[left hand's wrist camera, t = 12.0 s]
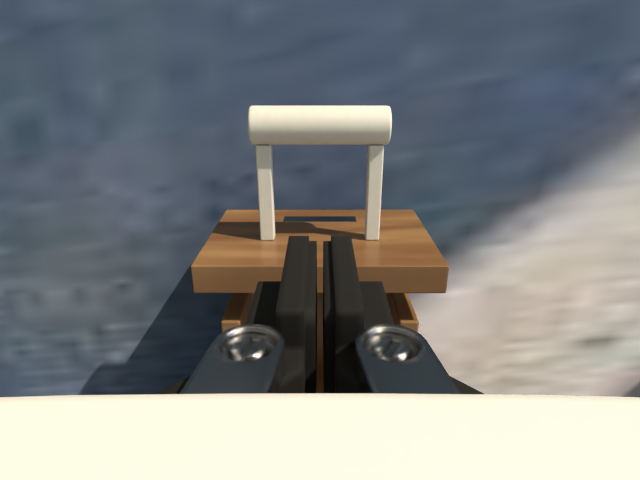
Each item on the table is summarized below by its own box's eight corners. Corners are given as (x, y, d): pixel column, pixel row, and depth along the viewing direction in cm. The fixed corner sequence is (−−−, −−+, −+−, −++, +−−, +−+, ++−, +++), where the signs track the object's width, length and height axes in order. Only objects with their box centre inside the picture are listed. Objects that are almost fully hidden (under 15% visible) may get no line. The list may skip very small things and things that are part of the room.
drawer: (217, 98, 22) (171, 113, 15) (422, 98, 22) (467, 113, 15) (244, 430, 29) (222, 537, 23) (395, 431, 29) (417, 537, 23)
